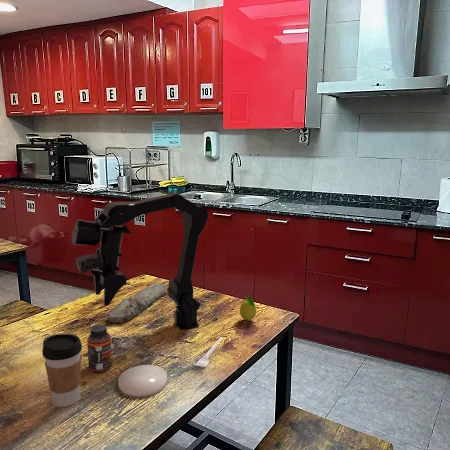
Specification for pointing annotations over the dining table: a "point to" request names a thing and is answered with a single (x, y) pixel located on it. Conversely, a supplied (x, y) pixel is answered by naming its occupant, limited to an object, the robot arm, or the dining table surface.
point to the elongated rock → (136, 303)
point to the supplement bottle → (99, 349)
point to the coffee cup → (63, 367)
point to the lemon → (248, 308)
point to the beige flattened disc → (142, 381)
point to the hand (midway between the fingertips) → (101, 299)
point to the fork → (207, 355)
